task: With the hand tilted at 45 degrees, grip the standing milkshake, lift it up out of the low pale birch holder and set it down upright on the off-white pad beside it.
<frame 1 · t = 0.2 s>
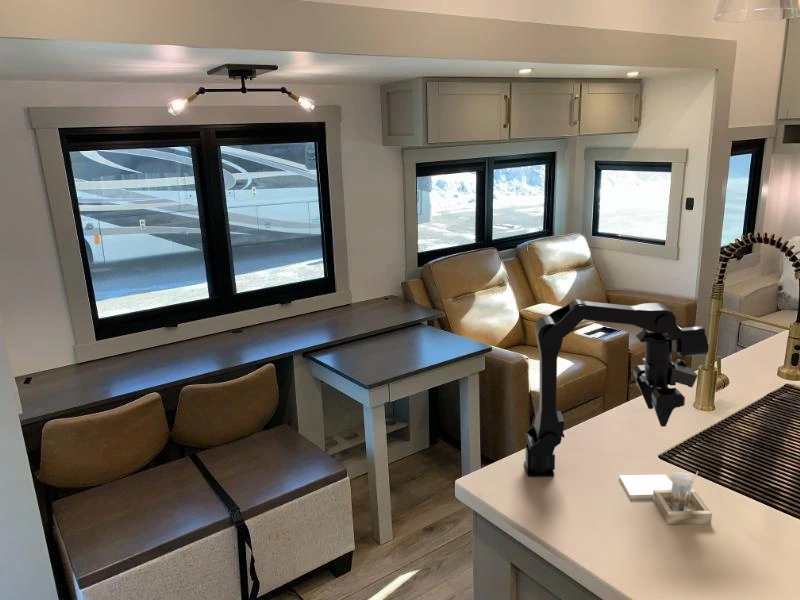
hand: (656, 417, 147), 14 cm above the kitchen counter, tool pointing down, fingers open, 9 cm apart
holder: (680, 511, 135), on the kitchen counter
milkshake: (680, 511, 135), resting in holder
pad: (648, 488, 144), on the kitchen counter
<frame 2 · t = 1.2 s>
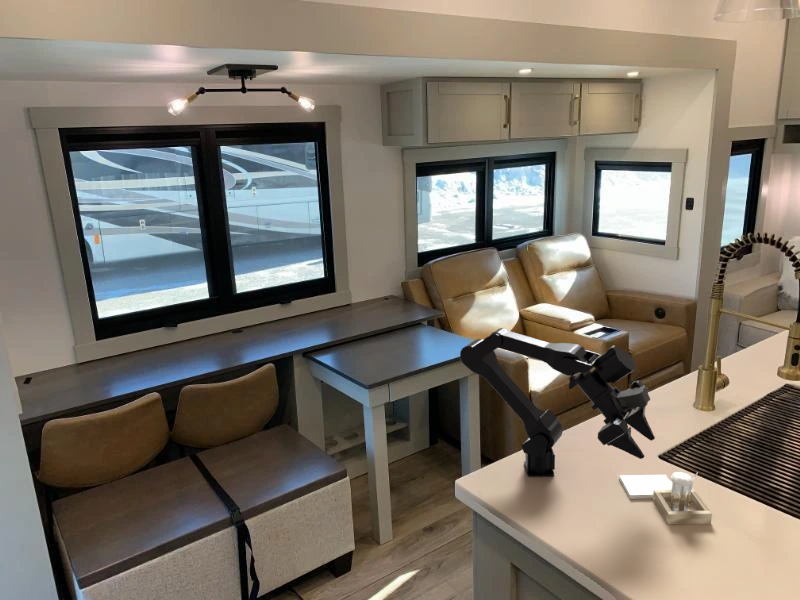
hand: (648, 448, 135), 13 cm above the kitchen counter, tool tilted 45°, fingers open, 9 cm apart
nothing on the kitchen counter moved.
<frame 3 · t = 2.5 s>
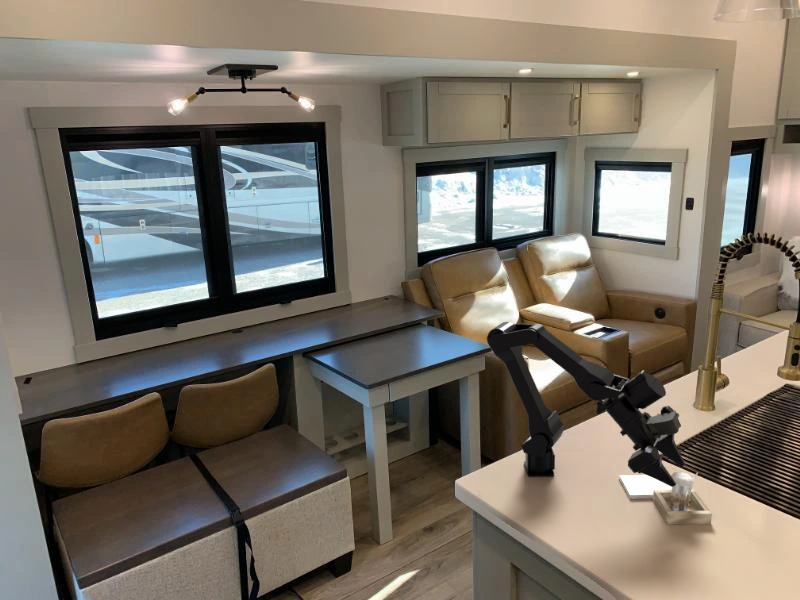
hand: (678, 475, 133), 9 cm above the kitchen counter, tool tilted 45°, fingers open, 9 cm apart
nothing on the kitchen counter moved.
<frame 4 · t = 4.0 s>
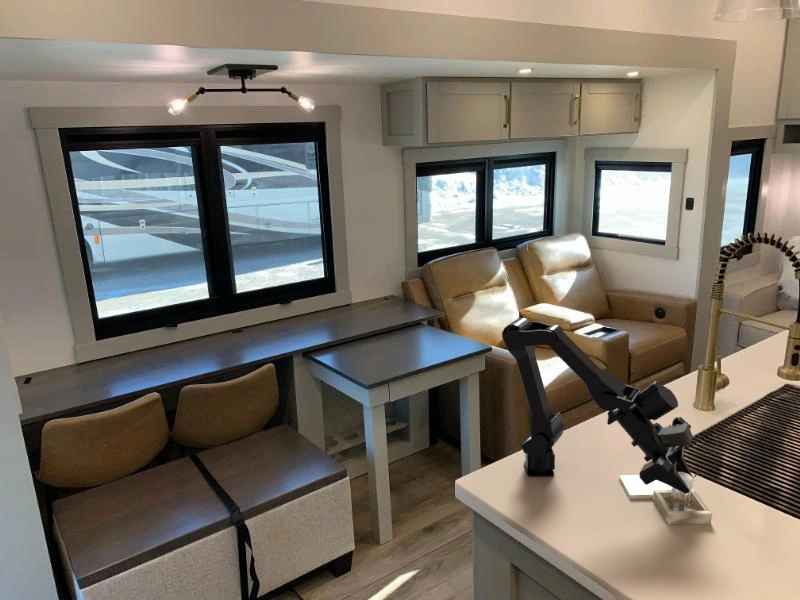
hand: (690, 487, 132), 7 cm above the kitchen counter, tool tilted 45°, fingers closed on milkshake, 4 cm apart
milkshake: (680, 511, 135), resting in holder, touching gripper
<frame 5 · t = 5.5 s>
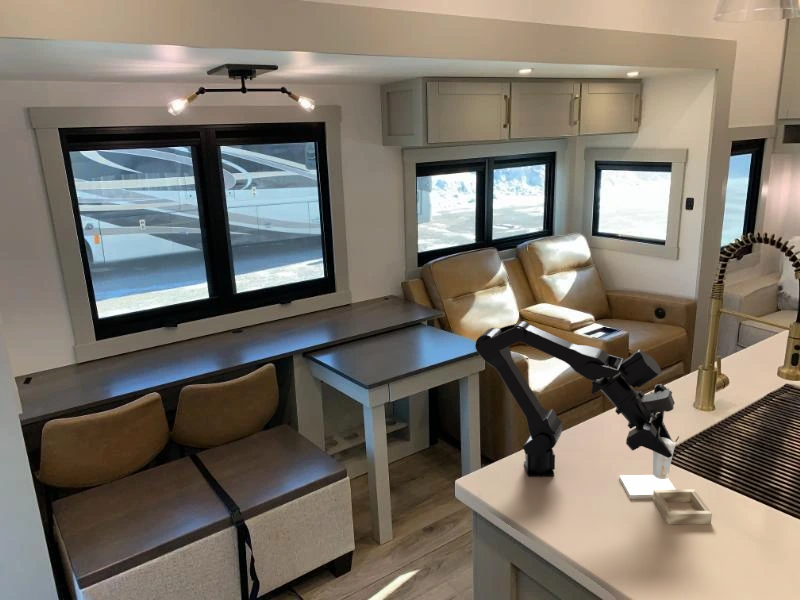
hand: (671, 451, 136), 12 cm above the kitchen counter, tool tilted 45°, fingers closed on milkshake, 4 cm apart
milkshake: (661, 476, 139), point 5 cm above the kitchen counter, touching gripper
when the fingers open (8 cm above the kitchen counter, at t = 7.1 s): milkshake stays where it is, resting on pad.
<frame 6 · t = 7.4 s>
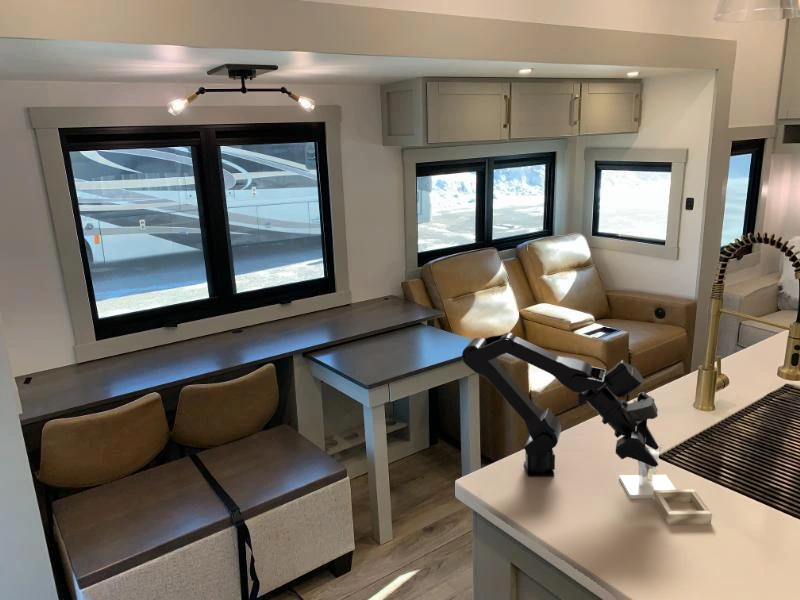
hand: (656, 457, 141), 9 cm above the kitchen counter, tool tilted 45°, fingers open, 8 cm apart
milkshake: (647, 485, 143), point 1 cm above the kitchen counter, touching pad
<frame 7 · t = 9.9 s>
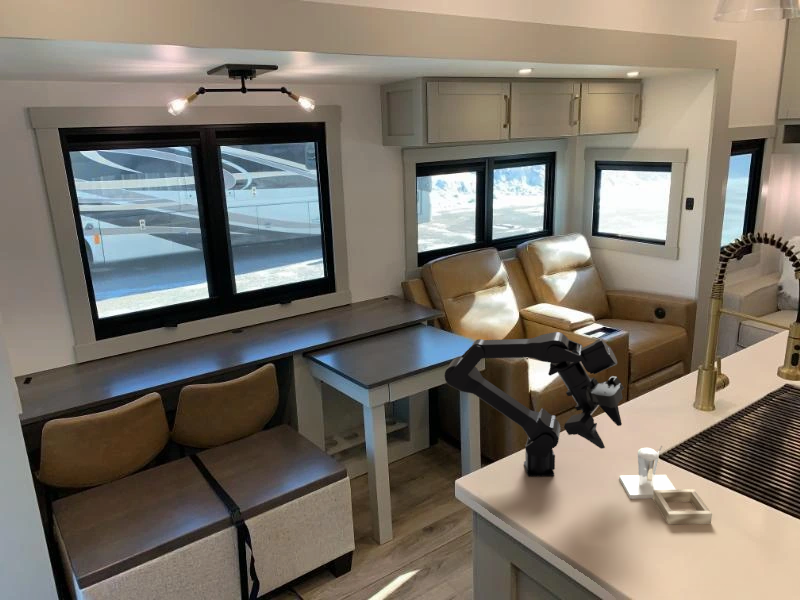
hand: (611, 436, 144), 12 cm above the kitchen counter, tool tilted 30°, fingers open, 9 cm apart
nothing on the kitchen counter moved.
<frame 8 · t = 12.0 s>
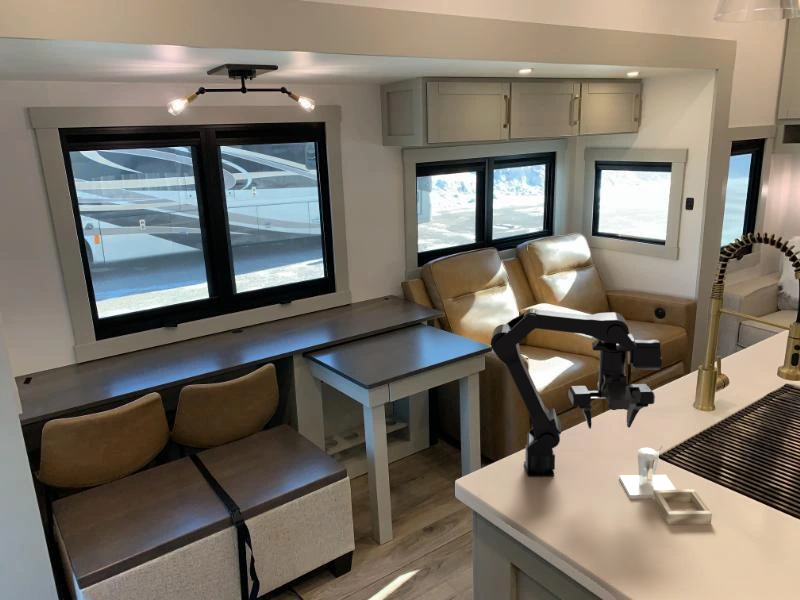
hand: (609, 427, 146), 13 cm above the kitchen counter, tool pointing down, fingers open, 9 cm apart
nothing on the kitchen counter moved.
at the end: milkshake inside the target area (0.5 cm from its centre), point 0.8 cm above the kitchen counter; milkshake tilted 0°; the gripper is holding nothing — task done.
